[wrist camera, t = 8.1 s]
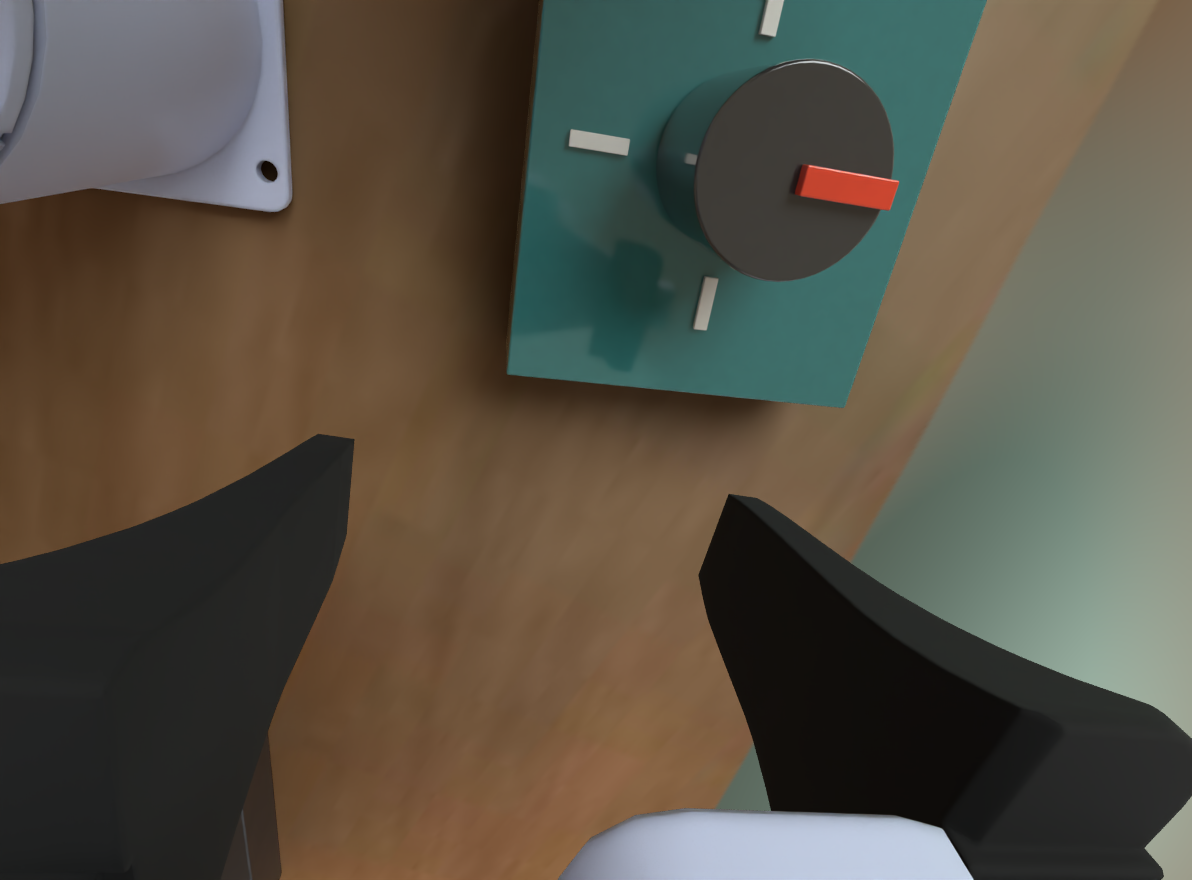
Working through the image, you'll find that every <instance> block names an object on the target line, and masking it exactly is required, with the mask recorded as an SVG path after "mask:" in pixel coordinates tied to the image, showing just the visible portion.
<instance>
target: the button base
mask: <svg viewBox="0 0 1192 880" xmlns="http://www.w3.org/2000/svg"><path fill="white" fill-rule="evenodd" d="M280 876H281V863H280V853H279V843H278V833H277V822H276V812H275V802H274V792H273V782H272V771H271V761H270V751H269V741H268V732H267V735H266V738H265V741H264V744H263V747H262V750H261V753H260V756H259V759H258V762H257V765H256V768H255V771H254V775H253V778H252V781H251V784H250V787H249V790H248V793H247V796H246V800H245V803H244V806H243V809H242V812H241V815H240V818H239V821H238V824H237V828H236V831H235V834H234V837H233V841H232V844H231V847H230V850H229V854H228V857H227V860H226V863H225V867H224V870H223V873H222V876H221V880H279V879H280Z"/></svg>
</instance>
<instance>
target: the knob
mask: <svg viewBox="0 0 1192 880" xmlns="http://www.w3.org/2000/svg"><path fill="white" fill-rule="evenodd" d="M893 167H894V141H893V134H892V129H891V124H890V121H889V118H888V116H887V113H886V110H885V108H884V106H883V104H882V102H881V100H880V99H879V97H878V96H877V94H876V93H875V92H874V90H873V89H872V87H871V86H870V85H869V84H868V83H867V82H866V81H865V80H864V79H863V78H862V77H860V76H859V75H857V74H856V73H855V72H853V71H852V70H850V69H848V68H846V67H844V66H842V65H840V64H837V63H834V62H830V61H827V60H820V59H797V60H791V61H786V62H781V63H775V64H770V65H765V66H759V67H754V68H749V69H744V70H738V71H733V72H728V73H724V74H721V75H719V76H716V77H714V78H712V79H710V80H708V81H706V82H704V83H703V84H701V85H700V86H698V87H697V88H696V89H694V90H693V91H692V92H691V93H690V94H689V95H688V96H687V97H686V98H685V99H684V100H683V101H682V102H681V103H680V105H679V106H678V107H677V108H676V110H675V111H674V113H673V114H672V116H671V118H670V120H669V121H668V123H667V125H666V127H665V130H664V132H663V135H662V138H661V141H660V145H659V149H658V154H657V162H656V178H657V187H658V191H659V195H660V199H661V202H662V204H663V207H664V209H665V211H666V213H667V215H668V217H669V218H670V220H671V221H672V222H673V224H674V225H675V226H676V227H677V228H678V229H679V230H680V232H681V233H682V234H684V235H685V236H686V237H688V238H689V239H690V240H692V241H693V242H695V243H696V244H697V245H699V246H700V247H702V248H703V249H705V250H706V251H708V252H709V253H711V254H712V255H714V256H715V257H716V258H718V259H719V260H721V261H722V262H724V263H725V264H727V265H728V266H730V267H731V268H732V269H734V270H736V271H738V272H740V273H741V274H743V275H746V276H748V277H751V278H754V279H758V280H762V281H768V282H788V281H794V280H799V279H804V278H807V277H810V276H812V275H815V274H817V273H819V272H821V271H824V270H826V269H828V268H829V267H831V266H832V265H834V264H836V263H837V262H839V261H840V260H841V259H842V258H844V257H845V256H846V255H847V254H849V253H850V252H851V251H852V250H853V249H854V248H855V247H856V246H857V245H858V244H859V243H860V242H861V240H862V239H863V238H864V237H865V235H866V234H867V233H868V232H869V230H870V229H871V227H872V225H873V224H874V222H875V221H876V219H877V217H878V215H879V213H880V211H881V210H886V211H889V210H890V208H891V205H892V202H893V199H894V196H895V194H896V191H897V188H898V185H899V181H898V180H892V174H893Z"/></svg>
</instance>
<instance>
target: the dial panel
mask: <svg viewBox="0 0 1192 880" xmlns="http://www.w3.org/2000/svg"><path fill="white" fill-rule="evenodd" d="M986 2H987V0H539V7H538V18H537V28H536V38H535V49H534V59H533V70H532V80H531V90H530V101H529V111H528V122H527V132H526V142H525V153H524V163H523V173H522V184H521V194H520V205H519V215H518V225H517V236H516V246H515V257H514V267H513V277H512V288H511V298H510V309H509V319H508V329H507V353H506V372H507V374H508V375H516V376H526V377H536V378H546V379H556V380H566V381H576V382H586V383H596V384H606V385H616V386H626V387H637V388H647V389H657V390H667V391H677V392H687V393H697V394H707V395H717V396H727V397H737V398H747V399H757V400H767V401H777V402H787V403H797V404H807V405H817V406H828V407H838V408H844V407H845V405H846V402H847V399H848V396H849V393H850V390H851V388H852V385H853V382H854V379H855V376H856V373H857V370H858V368H859V365H860V362H861V359H862V356H863V353H864V350H865V348H866V345H867V342H868V339H869V336H870V333H871V330H872V328H873V325H874V322H875V319H876V316H877V313H878V310H879V308H880V305H881V302H882V299H883V296H884V293H885V290H886V287H887V285H888V282H889V279H890V276H891V273H892V270H893V267H894V265H895V262H896V259H897V256H898V253H899V250H900V247H901V245H902V242H903V239H904V236H905V233H906V230H907V227H908V225H909V222H910V219H911V216H912V213H913V210H914V207H915V205H916V202H917V199H918V196H919V193H920V190H921V187H922V185H923V182H924V179H925V176H926V173H927V170H928V167H929V165H930V162H931V159H932V156H933V153H934V150H935V147H936V145H937V142H938V139H939V136H940V133H941V130H942V127H943V125H944V122H945V119H946V116H947V113H948V110H949V107H950V105H951V102H952V99H953V96H954V93H955V90H956V87H957V85H958V82H959V79H960V76H961V73H962V70H963V67H964V64H965V62H966V59H967V56H968V53H969V50H970V47H971V44H972V42H973V39H974V36H975V33H976V30H977V27H978V24H979V22H980V19H981V16H982V13H983V10H984V7H985V4H986ZM797 59H820V60H827V61H830V62H834V63H837V64H840V65H842V66H844V67H846V68H848V69H850V70H852V71H853V72H855V73H856V74H857V75H859V76H860V77H862V78H863V79H864V80H865V81H866V82H867V83H868V84H869V85H870V86H871V87H872V89H873V90H874V92H875V93H876V94H877V96H878V97H879V99H880V100H881V102H882V104H883V106H884V108H885V110H886V113H887V116H888V118H889V121H890V124H891V129H892V134H893V141H894V167H893V174H892V180H898V181H899V185H898V188H897V191H896V194H895V196H894V199H893V202H892V205H891V208H890V210H889V211H886V210H881V211H880V213H879V215H878V217H877V219H876V221H875V222H874V224H873V225H872V227H871V229H870V230H869V232H868V233H867V234H866V235H865V237H864V238H863V239H862V240H861V242H860V243H859V244H858V245H857V246H856V247H855V248H854V249H853V250H852V251H851V252H850V253H849V254H847V255H846V256H845V257H844V258H842V259H841V260H840V261H839V262H837V263H836V264H834V265H832V266H831V267H829V268H828V269H826V270H824V271H821V272H819V273H817V274H815V275H812V276H810V277H807V278H804V279H799V280H794V281H788V282H768V281H762V280H758V279H754V278H751V277H748V276H746V275H743V274H741V273H740V272H738V271H736V270H734V269H732V268H731V267H730V266H728V265H727V264H725V263H724V262H722V261H721V260H719V259H718V258H716V257H715V256H714V255H712V254H711V253H709V252H708V251H706V250H705V249H703V248H702V247H700V246H699V245H697V244H696V243H695V242H693V241H692V240H690V239H689V238H688V237H686V236H685V235H684V234H682V233H681V232H680V230H679V229H678V228H677V227H676V226H675V225H674V224H673V222H672V221H671V220H670V218H669V217H668V215H667V213H666V211H665V209H664V207H663V204H662V202H661V199H660V195H659V191H658V187H657V178H656V162H657V154H658V149H659V145H660V141H661V138H662V135H663V132H664V130H665V127H666V125H667V123H668V121H669V120H670V118H671V116H672V114H673V113H674V111H675V110H676V108H677V107H678V106H679V105H680V103H681V102H682V101H683V100H684V99H685V98H686V97H687V96H688V95H689V94H690V93H691V92H692V91H693V90H694V89H696V88H697V87H698V86H700V85H701V84H703V83H704V82H706V81H708V80H710V79H712V78H714V77H716V76H719V75H721V74H724V73H728V72H733V71H738V70H744V69H749V68H754V67H759V66H765V65H770V64H775V63H781V62H786V61H791V60H797Z"/></svg>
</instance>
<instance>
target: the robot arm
mask: <svg viewBox="0 0 1192 880" xmlns="http://www.w3.org/2000/svg"><path fill="white" fill-rule="evenodd" d="M264 161H269V162H271V163H272V164H273V165H274V166H275V167H276V168H277V172H278V176H277V179H276V180H275V181H270V180H268V179H266V178H265V177H264V176H263V174H262V171H261V166H262V163H263V162H264ZM88 188H96V189H104V190H111V191H119V192H126V193H133V194H141V195H148V196H156V197H163V198H170V199H178V200H185V201H193V202H200V203H207V204H215V205H222V206H229V207H237V208H244V209H252V210H259V211H266V212H278V211H280V210H282V209H284V208H286V207H288V205H289V204H290V202H291V200H292V194H293V193H292V173H291V152H290V132H289V111H288V91H287V70H286V50H285V29H284V9H283V0H0V204H4V203H10V202H15V201H21V200H26V199H32V198H38V197H43V196H49V195H55V194H60V193H66V192H71V191H77V190H83V189H88ZM353 450H354V439H349V438H343V437H336V436H329V435H322V434H317V435H315V436H314V437H312V438H310V439H308V440H307V441H305V442H303V443H302V444H300V445H298V446H297V447H295V448H294V449H292V450H290V451H289V452H287V453H285V454H284V455H282V456H280V457H279V458H277V459H275V460H274V461H272V462H270V463H268V464H267V465H265V466H263V467H261V468H260V469H258V470H256V471H255V472H253V473H251V474H249V475H248V476H246V477H244V478H242V479H240V480H238V481H236V482H234V483H232V484H230V485H228V486H226V487H224V488H222V489H220V490H218V491H216V492H214V493H212V494H210V495H208V496H206V497H204V498H202V499H200V500H198V501H196V502H194V503H191V504H189V505H187V506H185V507H182V508H180V509H178V510H175V511H173V512H170V513H168V514H165V515H163V516H160V517H158V518H155V519H152V520H150V521H147V522H145V523H142V524H139V525H137V526H134V527H131V528H128V529H125V530H122V531H118V532H115V533H112V534H109V535H106V536H102V537H99V538H96V539H93V540H90V541H86V542H83V543H80V544H77V545H74V546H70V547H67V548H64V549H60V550H57V551H53V552H49V553H45V554H41V555H37V556H33V557H29V558H25V559H21V560H17V561H13V562H8V563H4V564H0V880H221V876H222V873H223V870H224V867H225V863H226V860H227V857H228V854H229V850H230V847H231V844H232V841H233V837H234V834H235V831H236V828H237V824H238V821H239V818H240V815H241V812H242V809H243V806H244V803H245V800H246V796H247V793H248V790H249V787H250V784H251V781H252V778H253V775H254V771H255V768H256V765H257V762H258V759H259V756H260V753H261V750H262V747H263V744H264V741H265V738H266V735H267V732H268V729H269V726H270V723H271V720H272V717H273V714H274V712H275V709H276V706H277V704H278V701H279V699H280V696H281V694H282V691H283V689H284V687H285V684H286V682H287V680H288V678H289V675H290V673H291V671H292V669H293V667H294V665H295V662H296V660H297V658H298V656H299V654H300V651H301V649H302V647H303V645H304V643H305V641H306V638H307V636H308V634H309V632H310V630H311V627H312V625H313V623H314V621H315V619H316V617H317V614H318V612H319V610H320V608H321V606H322V603H323V601H324V599H325V597H326V594H327V592H328V590H329V588H330V585H331V583H332V581H333V578H334V575H335V571H336V568H337V565H338V562H339V558H340V555H341V551H342V548H343V545H344V541H345V538H346V534H347V522H348V510H349V498H350V486H351V474H352V462H353ZM699 580H700V585H701V590H702V595H703V600H704V604H705V609H706V613H707V617H708V620H709V623H710V626H711V629H712V631H713V634H714V637H715V639H716V642H717V645H718V647H719V650H720V653H721V655H722V658H723V661H724V663H725V666H726V668H727V671H728V673H729V676H730V679H731V681H732V684H733V686H734V689H735V691H736V694H737V697H738V699H739V702H740V704H741V707H742V710H743V712H744V715H745V717H746V720H747V723H748V726H749V729H750V732H751V735H752V738H753V742H754V745H755V749H756V753H757V756H758V760H759V764H760V768H761V772H762V776H763V779H764V783H765V787H766V791H767V795H768V799H769V803H770V808H771V811H754V810H723V809H695V808H684V809H676V810H669V811H662V812H655V813H647V814H640V815H635V816H633V817H631V818H629V819H627V820H625V821H623V822H621V823H619V824H617V825H615V826H613V827H611V828H609V829H607V830H605V831H603V832H601V833H599V834H597V835H595V836H593V837H591V838H590V839H589V840H588V842H587V843H586V844H585V845H584V846H583V847H582V849H581V850H580V851H579V853H578V854H577V855H576V856H575V858H574V859H573V860H572V861H571V863H570V864H569V865H568V867H567V868H566V869H565V870H564V872H563V873H562V874H561V875H560V877H559V878H558V880H1161V879H1162V878H1163V877H1164V875H1163V870H1162V868H1161V867H1160V866H1159V865H1158V863H1157V862H1156V861H1155V860H1154V859H1153V858H1152V857H1151V855H1149V853H1148V852H1147V851H1146V850H1145V846H1146V845H1147V844H1148V843H1149V842H1150V841H1151V840H1152V839H1153V838H1154V837H1155V836H1156V835H1157V834H1158V833H1159V832H1160V831H1161V830H1162V829H1163V827H1164V826H1165V825H1166V824H1167V823H1168V822H1169V821H1170V820H1171V819H1172V818H1173V817H1174V816H1175V815H1176V814H1177V813H1178V812H1179V811H1180V810H1181V808H1182V807H1183V806H1184V805H1185V804H1186V802H1187V801H1188V800H1189V799H1190V797H1191V796H1192V738H1190V737H1189V736H1188V735H1187V734H1186V733H1185V732H1184V731H1183V730H1182V729H1181V728H1179V727H1178V726H1177V725H1176V724H1175V723H1174V722H1173V721H1172V720H1171V719H1170V718H1168V717H1167V716H1166V715H1165V714H1164V713H1162V712H1161V711H1159V710H1158V709H1156V708H1155V707H1153V706H1151V705H1149V704H1146V703H1143V702H1140V701H1137V700H1135V699H1132V698H1129V697H1126V696H1123V695H1120V694H1117V693H1114V692H1112V691H1109V690H1106V689H1103V688H1100V687H1097V686H1094V685H1091V684H1089V683H1086V682H1083V681H1080V680H1077V679H1074V678H1072V677H1069V676H1066V675H1064V674H1061V673H1059V672H1056V671H1054V670H1051V669H1049V668H1047V667H1044V666H1041V665H1039V664H1037V663H1034V662H1032V661H1029V660H1027V659H1024V658H1022V657H1020V656H1018V655H1015V654H1013V653H1011V652H1009V651H1006V650H1004V649H1002V648H999V647H997V646H995V645H993V644H991V643H989V642H987V641H984V640H983V639H981V638H979V637H977V636H974V635H972V634H970V633H968V632H966V631H964V630H962V629H960V628H958V627H956V626H954V625H952V624H950V623H948V622H946V621H944V620H943V619H941V618H939V617H937V616H935V615H933V614H932V613H930V612H928V611H926V610H925V609H923V608H921V607H919V606H918V605H916V604H914V603H912V602H911V601H909V600H907V599H905V598H904V597H902V596H900V595H899V594H897V593H895V592H894V591H892V590H891V589H889V588H887V587H886V586H884V585H883V584H881V583H879V582H878V581H877V580H875V579H874V578H872V577H871V576H869V575H867V574H866V573H865V572H863V571H861V570H860V569H858V568H857V567H855V566H854V565H853V564H851V563H850V562H848V561H847V560H846V559H844V558H843V557H841V556H840V555H839V554H837V553H836V552H834V551H833V550H832V549H830V548H829V547H827V546H826V545H825V544H823V543H822V542H821V541H819V540H818V539H816V538H815V537H814V536H812V535H811V534H810V533H808V532H807V531H806V530H804V529H803V528H801V527H800V526H799V525H797V524H796V523H795V522H793V521H792V520H790V519H789V518H788V517H786V516H785V515H783V514H782V513H780V512H779V511H778V510H776V509H775V508H773V507H771V506H770V505H768V504H767V503H765V502H763V501H761V500H759V499H758V498H753V497H746V496H739V495H733V494H729V495H728V497H727V500H726V503H725V506H724V508H723V511H722V514H721V516H720V519H719V522H718V524H717V527H716V530H715V532H714V535H713V538H712V540H711V543H710V546H709V548H708V551H707V554H706V556H705V559H704V562H703V564H702V567H701V570H700V572H699Z"/></svg>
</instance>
